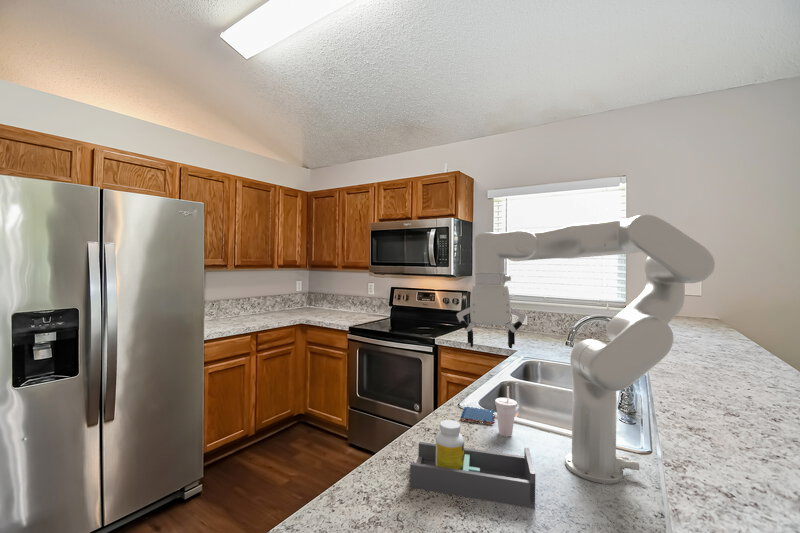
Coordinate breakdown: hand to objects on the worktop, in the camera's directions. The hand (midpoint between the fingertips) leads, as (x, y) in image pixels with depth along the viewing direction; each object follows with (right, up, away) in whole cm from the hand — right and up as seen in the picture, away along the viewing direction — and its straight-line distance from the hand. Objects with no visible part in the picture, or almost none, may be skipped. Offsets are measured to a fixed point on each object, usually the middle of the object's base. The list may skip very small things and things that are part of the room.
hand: (490, 346), depth 91 cm
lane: (-7, -28, -11) cm, 31 cm away
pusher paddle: (-7, -27, -11) cm, 30 cm away
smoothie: (+8, -29, +14) cm, 34 cm away
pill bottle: (-12, -28, -10) cm, 32 cm away
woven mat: (+2, -30, +26) cm, 40 cm away
